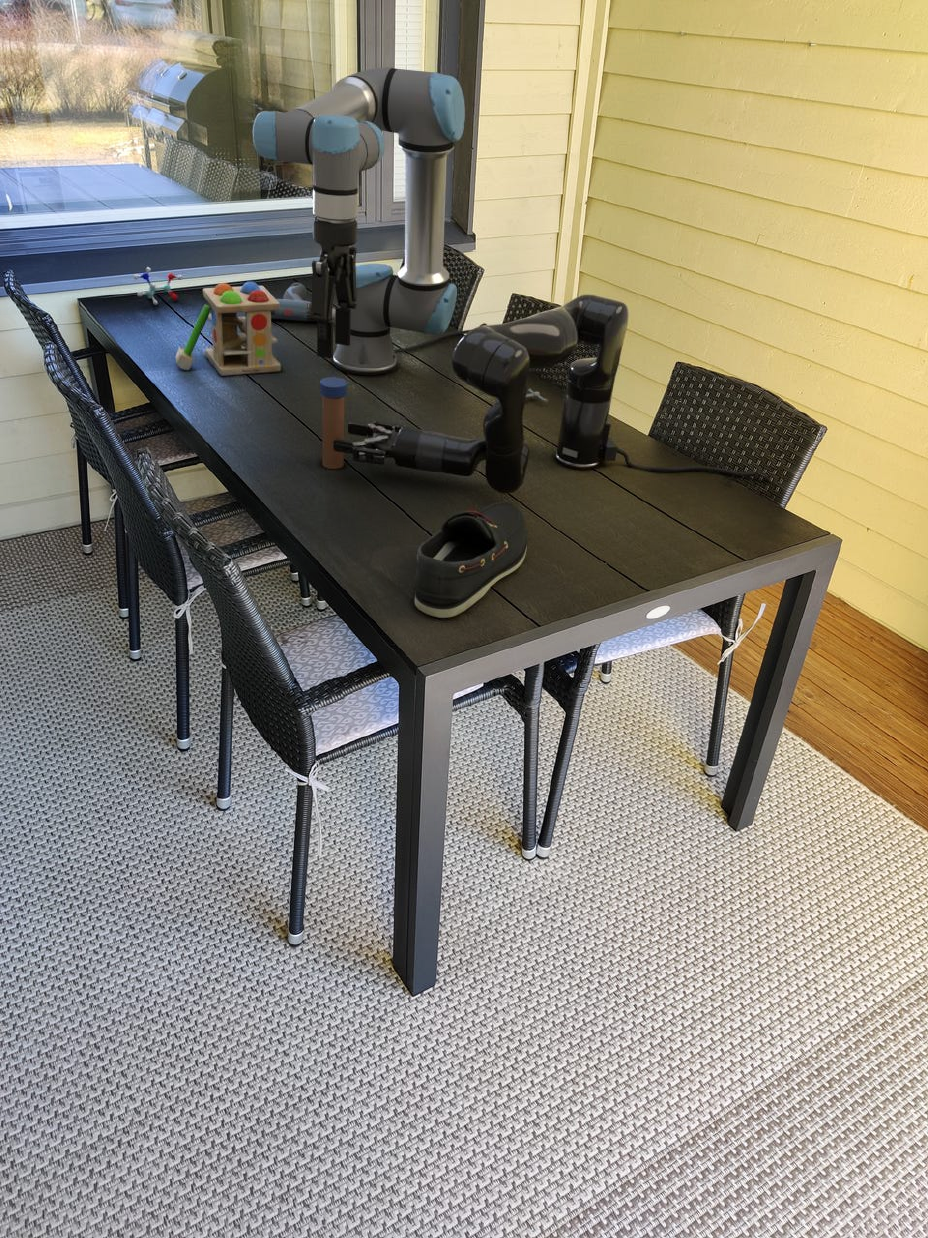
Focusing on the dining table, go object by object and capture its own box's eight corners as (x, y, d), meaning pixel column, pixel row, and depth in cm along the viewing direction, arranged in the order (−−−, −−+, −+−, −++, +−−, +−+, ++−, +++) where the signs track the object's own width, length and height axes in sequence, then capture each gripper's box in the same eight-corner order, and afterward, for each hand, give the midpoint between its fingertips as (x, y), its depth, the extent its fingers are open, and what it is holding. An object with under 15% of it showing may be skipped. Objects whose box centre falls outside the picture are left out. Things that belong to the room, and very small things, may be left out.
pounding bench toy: (183, 379, 220) (176, 299, 210) (169, 357, 231) (162, 280, 221) (282, 371, 230) (280, 294, 220) (264, 350, 240) (262, 276, 230)
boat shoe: (553, 546, 173) (559, 493, 167) (451, 625, 149) (454, 565, 143) (491, 526, 178) (495, 473, 173) (382, 598, 154) (383, 540, 149)
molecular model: (165, 296, 257) (152, 258, 255) (138, 309, 260) (124, 272, 259) (191, 298, 267) (178, 262, 266) (164, 311, 271) (151, 276, 270)
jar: (334, 457, 194) (335, 378, 185) (348, 465, 192) (350, 385, 183) (317, 463, 192) (317, 383, 182) (331, 470, 189) (332, 390, 180)
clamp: (478, 378, 231) (514, 373, 235) (477, 387, 232) (513, 382, 236) (512, 401, 220) (549, 396, 225) (511, 411, 221) (548, 405, 226)
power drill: (344, 304, 276) (335, 327, 259) (277, 298, 275) (264, 321, 258) (344, 285, 273) (335, 306, 256) (277, 279, 272) (264, 300, 255)
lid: (335, 386, 187) (335, 375, 185) (352, 394, 184) (352, 383, 183) (314, 391, 183) (314, 380, 182) (332, 400, 181) (332, 389, 179)
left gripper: (339, 204, 175) (337, 331, 188) (288, 225, 159) (290, 363, 172) (378, 210, 173) (374, 338, 186) (330, 232, 157) (330, 371, 170)
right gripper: (433, 417, 189) (353, 404, 191) (414, 446, 178) (329, 431, 180) (430, 453, 194) (352, 439, 196) (412, 483, 182) (328, 469, 184)
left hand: (334, 349), depth 179 cm, fingers open, 7 cm apart
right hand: (341, 435), depth 188 cm, fingers open, 8 cm apart
